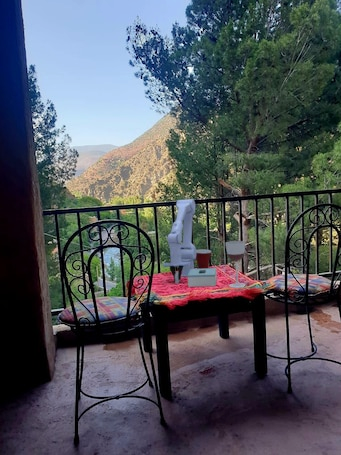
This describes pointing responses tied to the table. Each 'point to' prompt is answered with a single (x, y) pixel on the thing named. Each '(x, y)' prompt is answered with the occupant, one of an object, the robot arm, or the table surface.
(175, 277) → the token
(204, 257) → the plastic cup
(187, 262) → the robot arm
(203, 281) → the coin box
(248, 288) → the table surface
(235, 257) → the wineglass
